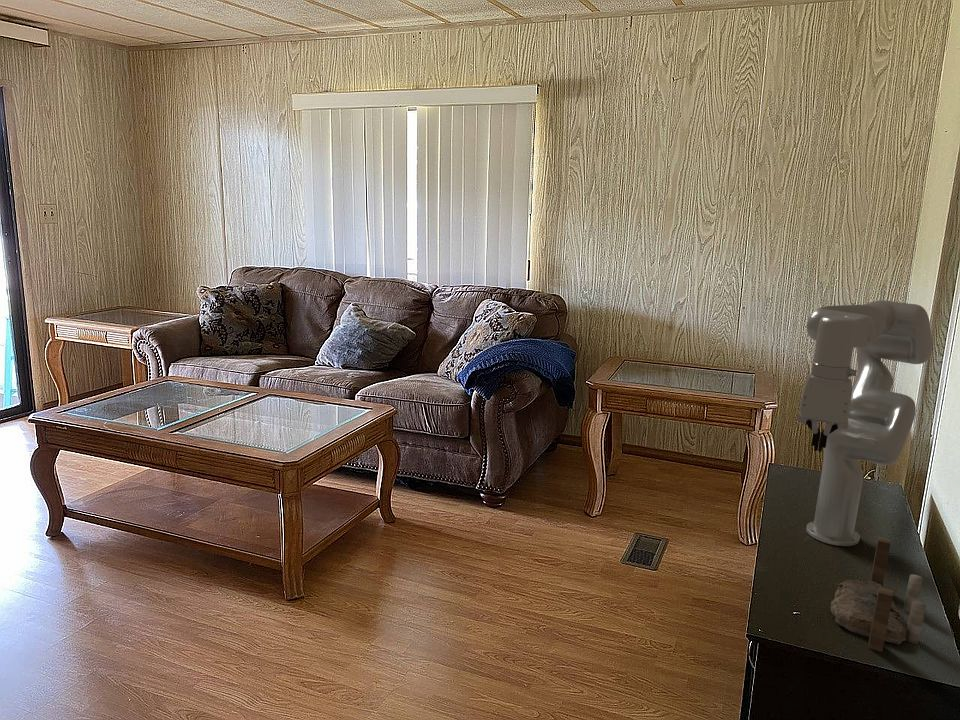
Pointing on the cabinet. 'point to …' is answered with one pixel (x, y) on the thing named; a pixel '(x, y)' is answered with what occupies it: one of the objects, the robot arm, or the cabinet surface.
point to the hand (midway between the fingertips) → (818, 449)
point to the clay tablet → (865, 610)
